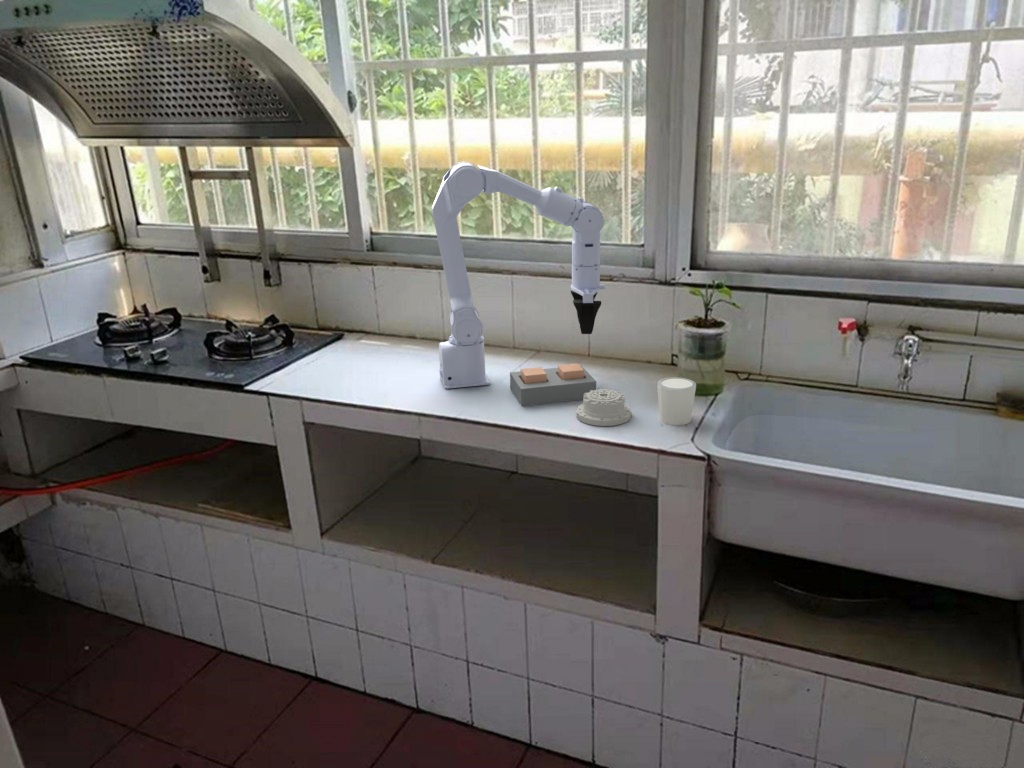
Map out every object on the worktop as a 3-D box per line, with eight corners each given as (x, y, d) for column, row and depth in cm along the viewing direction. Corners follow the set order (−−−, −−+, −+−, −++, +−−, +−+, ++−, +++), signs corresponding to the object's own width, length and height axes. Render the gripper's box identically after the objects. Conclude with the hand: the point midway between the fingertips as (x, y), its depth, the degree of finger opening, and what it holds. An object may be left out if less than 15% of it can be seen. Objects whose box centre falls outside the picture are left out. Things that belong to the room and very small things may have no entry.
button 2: (563, 387, 156) (563, 372, 155) (557, 380, 160) (557, 365, 159) (583, 385, 157) (583, 370, 156) (577, 378, 161) (577, 363, 160)
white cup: (699, 425, 142) (701, 388, 139) (661, 427, 141) (662, 390, 139) (688, 411, 148) (690, 375, 146) (651, 413, 148) (653, 377, 145)
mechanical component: (573, 426, 143) (629, 429, 142) (573, 403, 142) (630, 405, 140) (579, 406, 152) (631, 408, 151) (579, 384, 151) (632, 386, 149)
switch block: (521, 406, 153) (520, 388, 151) (510, 388, 162) (509, 372, 161) (596, 398, 156) (596, 381, 154) (581, 381, 165) (581, 365, 164)
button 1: (525, 391, 155) (525, 375, 154) (521, 384, 159) (520, 369, 158) (546, 389, 156) (546, 373, 155) (541, 382, 160) (541, 367, 159)
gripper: (609, 271, 155) (607, 338, 159) (602, 256, 168) (601, 318, 173) (572, 271, 155) (572, 338, 159) (568, 257, 168) (568, 319, 173)
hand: (585, 328), depth 166 cm, fingers open, 7 cm apart
